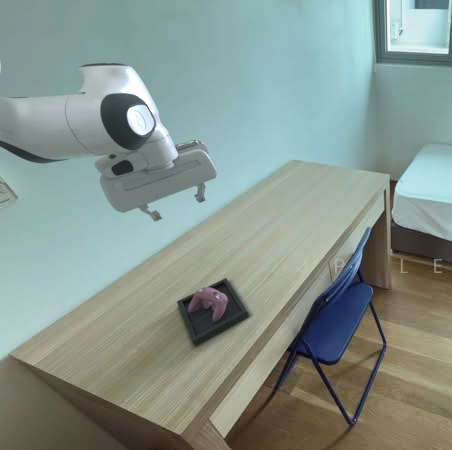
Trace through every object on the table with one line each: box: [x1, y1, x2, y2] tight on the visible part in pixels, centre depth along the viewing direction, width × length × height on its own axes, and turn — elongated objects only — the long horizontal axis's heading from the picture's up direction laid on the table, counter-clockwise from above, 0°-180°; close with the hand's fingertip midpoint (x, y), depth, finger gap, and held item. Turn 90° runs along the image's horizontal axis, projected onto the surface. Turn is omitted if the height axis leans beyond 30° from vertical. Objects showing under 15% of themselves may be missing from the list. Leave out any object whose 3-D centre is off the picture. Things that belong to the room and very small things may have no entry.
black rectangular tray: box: [176, 277, 250, 347], centre depth 80 cm, size 12×16×2 cm
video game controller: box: [188, 286, 228, 322], centre depth 78 cm, size 10×5×7 cm, turn 69°
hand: (180, 210), depth 70 cm, fingers open, 8 cm apart
